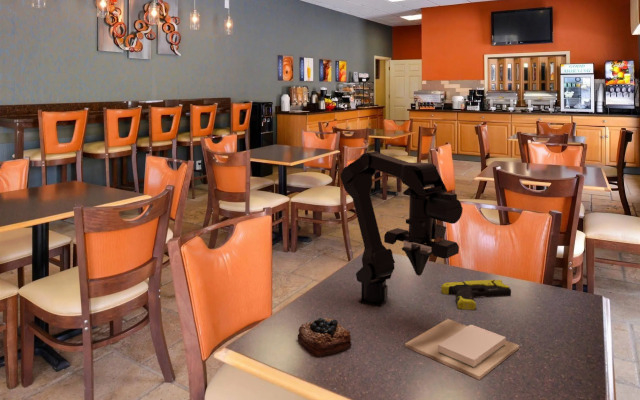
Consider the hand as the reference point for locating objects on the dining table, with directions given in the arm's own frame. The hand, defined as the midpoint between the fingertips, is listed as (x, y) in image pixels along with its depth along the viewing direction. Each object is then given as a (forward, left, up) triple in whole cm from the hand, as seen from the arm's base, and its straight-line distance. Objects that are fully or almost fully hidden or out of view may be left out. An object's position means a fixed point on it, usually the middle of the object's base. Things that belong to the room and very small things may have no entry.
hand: (419, 275), depth 126 cm
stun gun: (+12, +23, -14) cm, 29 cm away
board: (+13, -8, -13) cm, 20 cm away
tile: (+11, -7, -11) cm, 17 cm away
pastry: (-17, -20, -14) cm, 29 cm away
